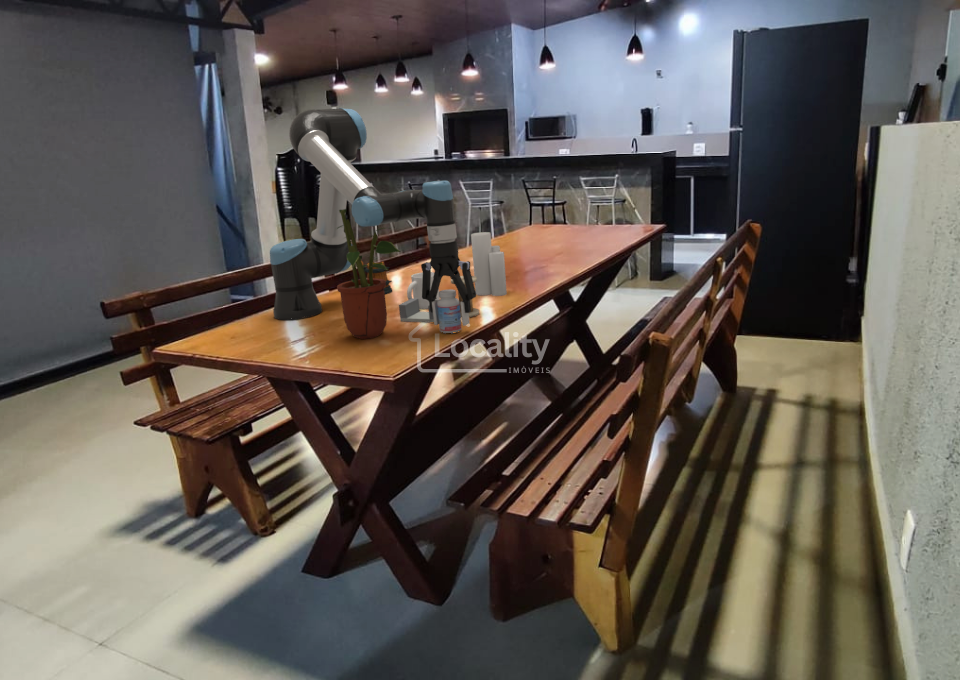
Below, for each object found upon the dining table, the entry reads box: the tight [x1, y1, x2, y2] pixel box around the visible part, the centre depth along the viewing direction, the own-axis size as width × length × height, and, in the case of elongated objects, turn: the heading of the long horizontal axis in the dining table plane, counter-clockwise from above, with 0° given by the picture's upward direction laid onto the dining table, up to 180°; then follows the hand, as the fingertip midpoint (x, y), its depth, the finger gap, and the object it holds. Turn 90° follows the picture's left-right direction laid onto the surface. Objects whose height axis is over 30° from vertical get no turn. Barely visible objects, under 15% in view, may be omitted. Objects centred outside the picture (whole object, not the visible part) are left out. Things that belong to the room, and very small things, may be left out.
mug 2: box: [361, 260, 393, 296], centre depth 239 cm, size 13×10×12 cm
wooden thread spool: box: [450, 275, 480, 318], centre depth 199 cm, size 8×8×11 cm
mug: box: [406, 271, 440, 310], centre depth 211 cm, size 12×8×10 cm
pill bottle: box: [437, 289, 462, 334], centre depth 183 cm, size 6×6×11 cm
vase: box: [470, 231, 508, 297], centre depth 222 cm, size 11×7×20 cm, turn 66°
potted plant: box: [336, 208, 401, 340], centre depth 183 cm, size 17×16×35 cm
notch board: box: [398, 297, 434, 323], centre depth 199 cm, size 12×8×5 cm, turn 66°
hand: (451, 323), depth 183 cm, fingers open, 8 cm apart
